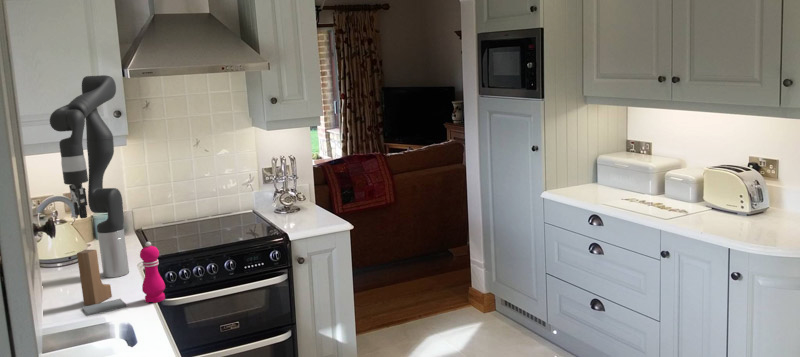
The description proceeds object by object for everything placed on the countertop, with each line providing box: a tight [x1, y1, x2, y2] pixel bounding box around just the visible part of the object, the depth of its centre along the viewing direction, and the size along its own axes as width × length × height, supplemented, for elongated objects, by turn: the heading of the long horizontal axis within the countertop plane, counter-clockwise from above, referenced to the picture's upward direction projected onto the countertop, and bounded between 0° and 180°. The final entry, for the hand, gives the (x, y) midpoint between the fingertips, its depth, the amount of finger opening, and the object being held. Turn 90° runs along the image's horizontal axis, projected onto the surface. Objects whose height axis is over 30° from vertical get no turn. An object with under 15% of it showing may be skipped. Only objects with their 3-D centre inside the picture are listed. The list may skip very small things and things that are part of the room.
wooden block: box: [76, 249, 113, 306], centre depth 239 cm, size 9×4×18 cm, turn 166°
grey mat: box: [81, 298, 128, 316], centre depth 233 cm, size 8×12×1 cm
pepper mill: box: [139, 241, 166, 304], centre depth 236 cm, size 7×7×20 cm
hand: (81, 216), depth 244 cm, fingers open, 7 cm apart
